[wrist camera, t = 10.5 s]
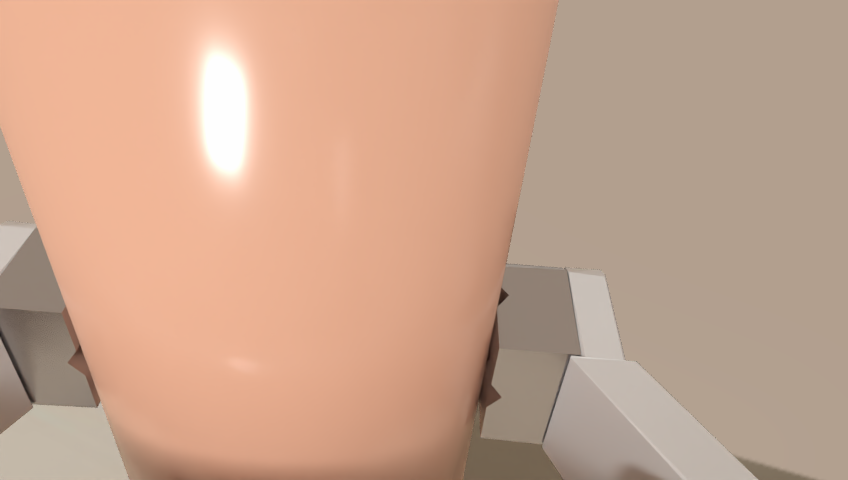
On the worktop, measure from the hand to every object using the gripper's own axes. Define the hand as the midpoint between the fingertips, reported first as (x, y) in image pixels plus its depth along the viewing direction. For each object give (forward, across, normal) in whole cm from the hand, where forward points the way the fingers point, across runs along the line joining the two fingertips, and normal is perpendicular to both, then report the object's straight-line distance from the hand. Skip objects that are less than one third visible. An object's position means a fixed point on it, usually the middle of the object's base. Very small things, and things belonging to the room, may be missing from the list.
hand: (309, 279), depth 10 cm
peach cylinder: (-1, 0, +8) cm, 8 cm away
